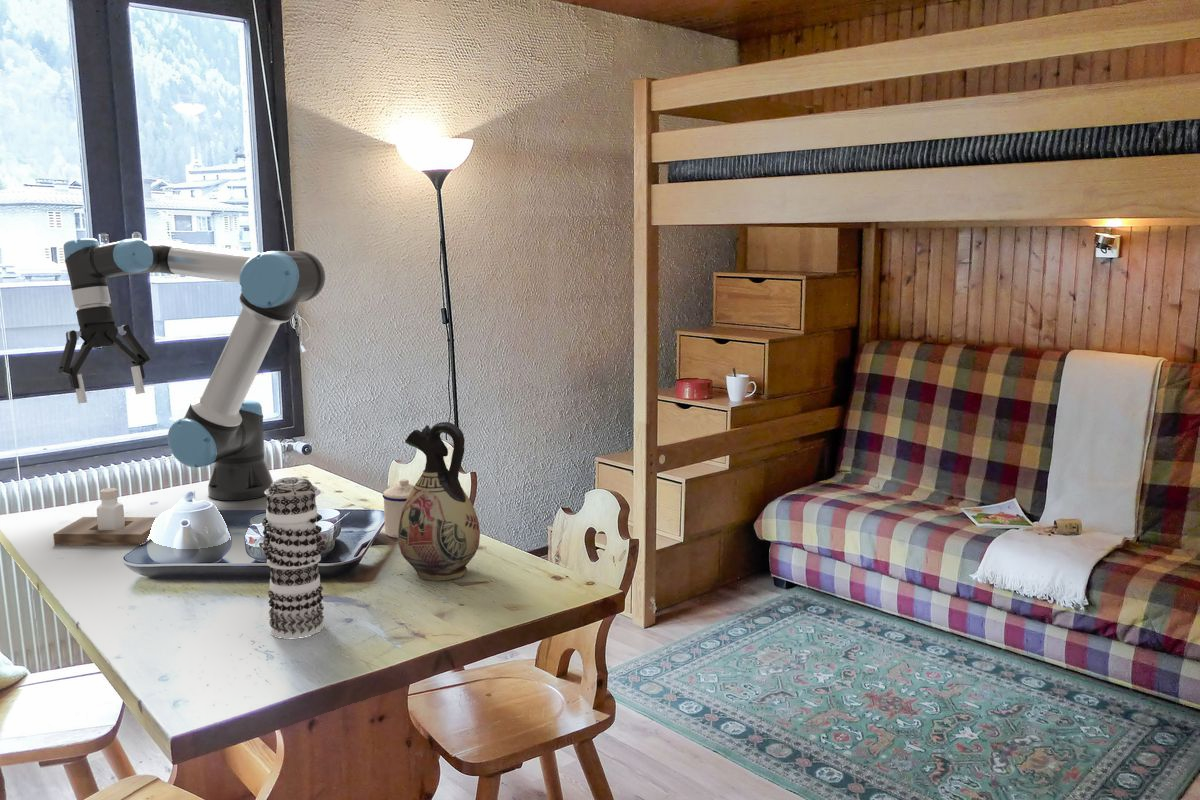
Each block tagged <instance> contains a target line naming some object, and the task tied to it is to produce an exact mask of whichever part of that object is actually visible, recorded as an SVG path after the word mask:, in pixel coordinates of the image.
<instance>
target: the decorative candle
mask: <svg viewBox="0 0 1200 800" xmlns="http://www.w3.org/2000/svg"><path fill="white" fill-rule="evenodd" d="M317 490H318V487H317V486H315V485H313V484H312V482H311V481H310V480H309V479H307V478H305V477H299V476H298V477H297V476H294V477H293V476H292V477H285V478H284V477H283V478H279V479H275V481H274V480H273V483H272V484H271V485H270V487H269V489H267V490H265V493H264V494H266V495H265V497H266V510H265V514H266V515H265V517H264V518H262V522H261V525H262V526H263V527H264V528H263V529H264V530H263V531H262V534H263V538H265V541H264V544H263V545H264V547H265V549H266V551H265V553H264V556H265V559H266V564H267V566H268V567H269V569H270V570H269V571H270V572H269V573H270V578H269V590H267V591H268V592H267V594H268V597H269V600H268V605H269V607H270V608H269V611H268V615H269V617H270V619H269V622H268V623H269V626H270V634H271V633H272V634H273V635H274V636H276V637H281V638H299V637H305V636H309V635H313V634H315V633H317V632H319V631H321V629H322V628H323V627H325V626H324V625H325V624H324V619H325V615H324V613H323V611H324V610H325V609H324V608H325V607H324V605H323V603H322V601H323V599H324V596H323V595H322V591H323V589H324V588H323V586H322V584H321V575H320V573H319V572H320V571H319V562H320V561H322V557H321V553H322V548H320V547H319V546H318V545H317V544H319V543H320V542H321V541H322V539H323V538H322V536H321V535H318V534H320V533H321V532H322V529H323V528H322V527H321V526H319V525H318V524H317V525H316V523H318V522H320V521H322V519H323V516H322V514H319V513H318V506H317V504H316V491H317ZM323 629H324V628H323ZM323 629H322V630H323ZM319 633H320V632H319ZM272 634H271V635H272ZM317 634H318V633H317ZM273 635H272V636H273ZM315 635H316V634H315ZM274 636H273V637H274ZM313 636H314V635H313ZM276 637H275V638H276Z"/></svg>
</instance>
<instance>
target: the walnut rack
mask: <svg viewBox="0 0 1200 800" xmlns="http://www.w3.org/2000/svg"><path fill="white" fill-rule="evenodd" d="M155 518H156V516H155V517H153V516H152V517H149V516H148V517H147V516H145V517H144V516H141V517H140V516H138V517H137V516H133V517H132V516H131V517H130V516H124V521H125V527H124V528H122V529H121V530H98V520H97V516H82V517H80V518H78V519H77V520H75V521H73V522H72V523H70V524H69V525H66V526H65V527H63V528H61V529H59V530H58V531H55V532H54V533H53V534H52V535H53V545H54V546H119V547H120V546H126V547H127V546H131V547H132V546H134V547H136V546H137V547H138V545H140V544H142V543H144V542H146V540H147V538H148V536H149V534H150V530H151V527H152V524H153V522H154V520H155Z"/></svg>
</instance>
